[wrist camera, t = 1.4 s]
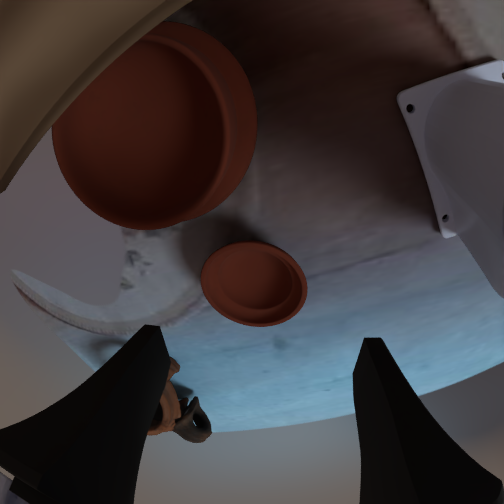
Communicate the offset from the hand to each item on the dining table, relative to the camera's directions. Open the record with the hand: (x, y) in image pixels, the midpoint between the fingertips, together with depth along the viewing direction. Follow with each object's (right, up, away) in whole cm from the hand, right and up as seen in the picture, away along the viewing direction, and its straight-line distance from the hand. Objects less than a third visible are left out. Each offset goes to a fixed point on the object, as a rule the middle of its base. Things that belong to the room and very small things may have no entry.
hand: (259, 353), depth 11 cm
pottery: (-3, +8, +8) cm, 12 cm away
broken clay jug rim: (-9, -10, +21) cm, 25 cm away
